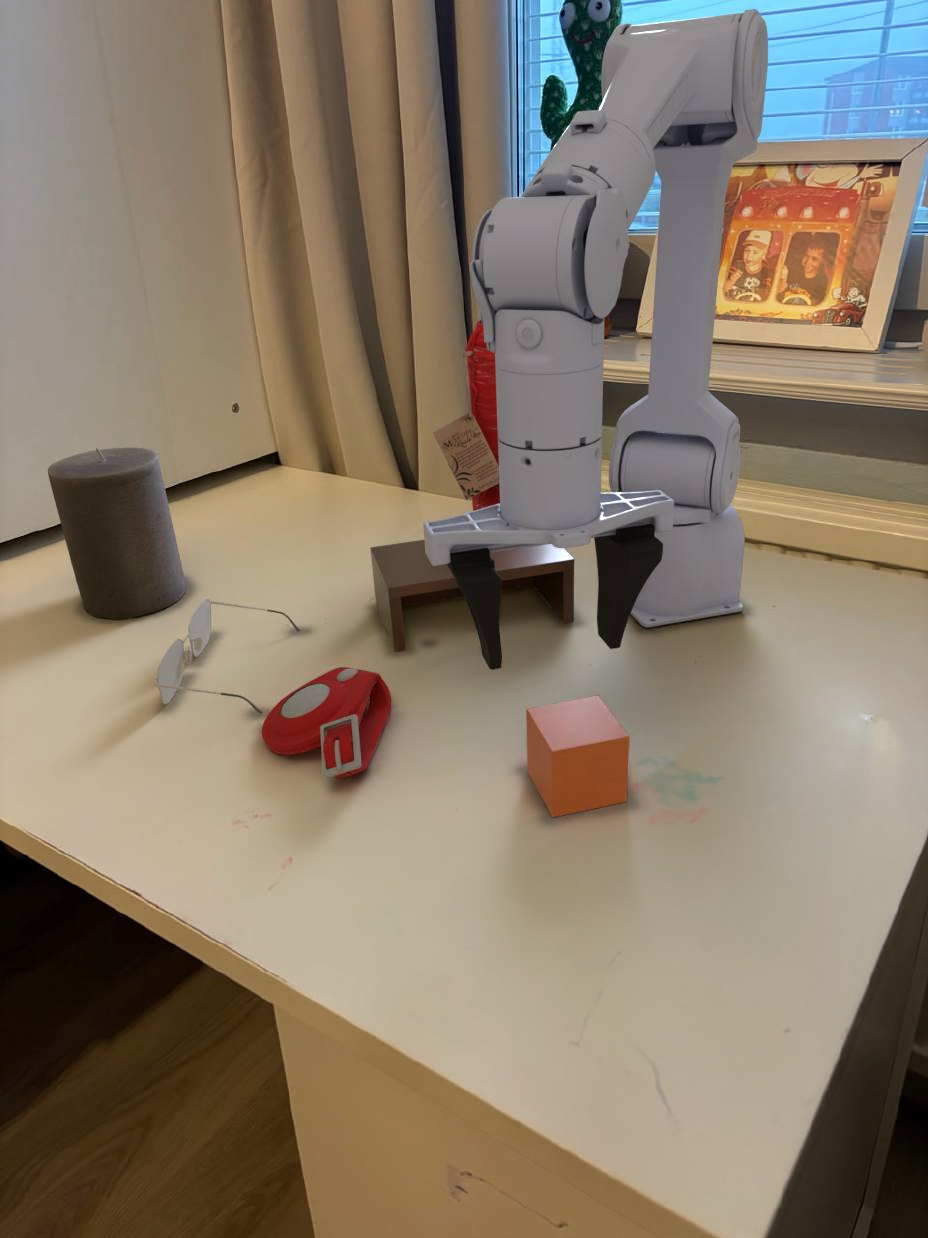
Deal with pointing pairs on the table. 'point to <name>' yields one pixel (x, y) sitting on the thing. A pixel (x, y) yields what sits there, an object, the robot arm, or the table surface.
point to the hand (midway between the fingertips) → (551, 651)
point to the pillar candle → (118, 531)
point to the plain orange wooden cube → (577, 755)
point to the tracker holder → (332, 720)
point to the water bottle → (475, 428)
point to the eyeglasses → (175, 656)
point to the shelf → (417, 581)
